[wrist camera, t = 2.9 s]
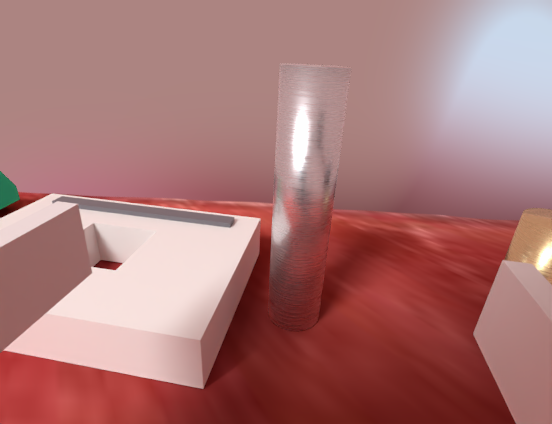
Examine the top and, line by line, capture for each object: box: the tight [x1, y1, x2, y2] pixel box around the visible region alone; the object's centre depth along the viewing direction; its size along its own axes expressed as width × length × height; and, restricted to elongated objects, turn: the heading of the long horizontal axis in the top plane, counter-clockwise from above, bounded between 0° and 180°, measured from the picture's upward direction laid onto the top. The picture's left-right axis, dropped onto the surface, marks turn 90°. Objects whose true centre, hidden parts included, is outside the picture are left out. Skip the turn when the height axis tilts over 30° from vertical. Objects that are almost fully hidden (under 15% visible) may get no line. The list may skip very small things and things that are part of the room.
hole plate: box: [0, 193, 260, 389], centre depth 25 cm, size 20×14×4 cm
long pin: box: [268, 64, 351, 331], centre depth 21 cm, size 4×4×16 cm
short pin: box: [504, 208, 552, 285], centre depth 20 cm, size 4×4×9 cm
